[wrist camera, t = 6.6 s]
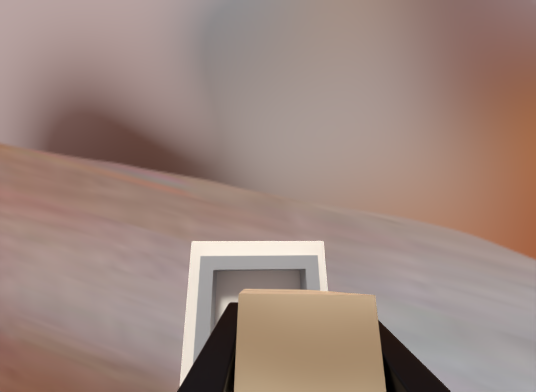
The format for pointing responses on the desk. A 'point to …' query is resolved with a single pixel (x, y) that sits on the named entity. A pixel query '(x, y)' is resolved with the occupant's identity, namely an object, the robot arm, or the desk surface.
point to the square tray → (242, 280)
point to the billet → (307, 342)
